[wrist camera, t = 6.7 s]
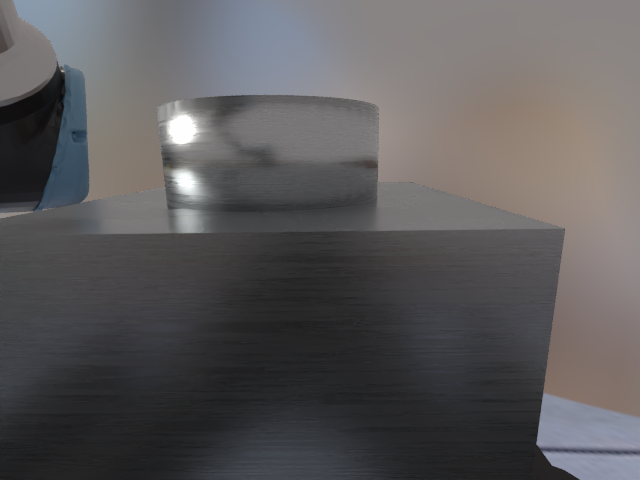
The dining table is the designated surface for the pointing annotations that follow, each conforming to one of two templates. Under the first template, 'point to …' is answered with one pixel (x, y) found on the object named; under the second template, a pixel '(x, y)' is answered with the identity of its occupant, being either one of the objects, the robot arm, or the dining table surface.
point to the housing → (274, 314)
